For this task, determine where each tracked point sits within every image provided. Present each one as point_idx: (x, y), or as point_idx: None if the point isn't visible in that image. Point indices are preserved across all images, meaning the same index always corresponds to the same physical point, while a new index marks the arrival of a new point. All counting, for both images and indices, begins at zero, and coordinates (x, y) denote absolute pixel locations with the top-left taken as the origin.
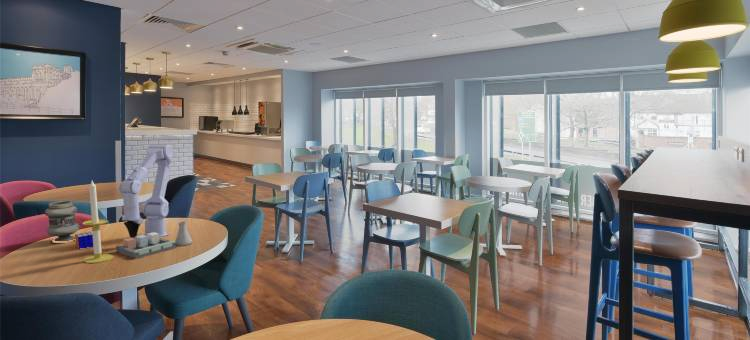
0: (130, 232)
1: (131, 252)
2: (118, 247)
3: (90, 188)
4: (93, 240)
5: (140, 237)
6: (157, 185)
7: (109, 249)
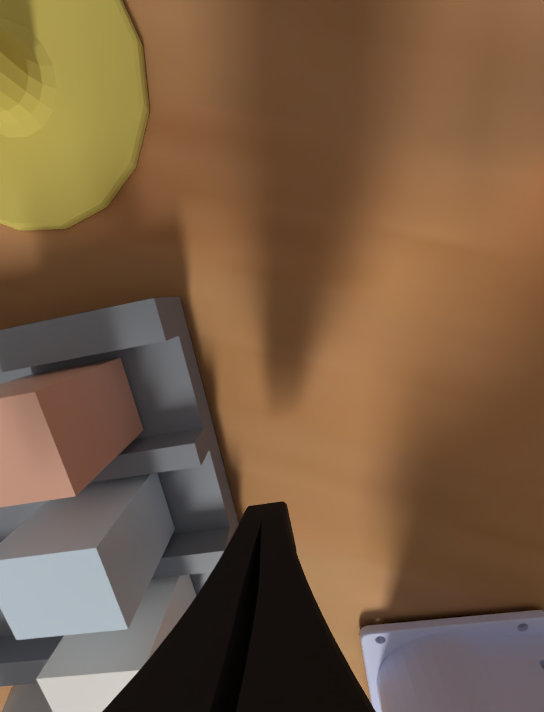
0: (217, 568)
1: None
2: (99, 310)
3: None
4: None
5: (5, 573)
6: None
7: (301, 261)
